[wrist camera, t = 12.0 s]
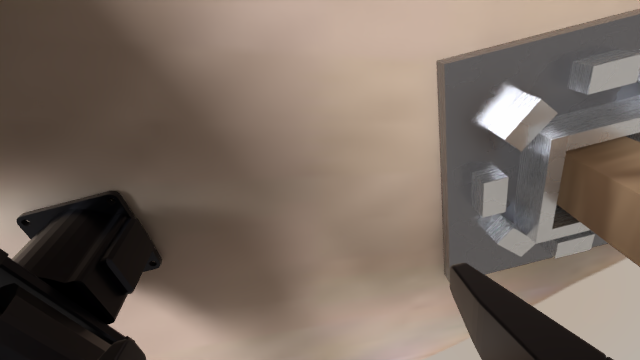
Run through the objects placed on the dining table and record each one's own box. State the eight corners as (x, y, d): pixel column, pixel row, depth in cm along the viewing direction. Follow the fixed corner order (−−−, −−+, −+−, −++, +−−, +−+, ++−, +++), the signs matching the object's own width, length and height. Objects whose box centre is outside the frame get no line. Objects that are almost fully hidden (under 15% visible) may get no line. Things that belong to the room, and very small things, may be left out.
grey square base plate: (444, 274, 28) (464, 307, 25) (436, 61, 19) (466, 73, 16) (649, 222, 28) (694, 250, 25) (738, -17, 19) (825, -19, 16)
